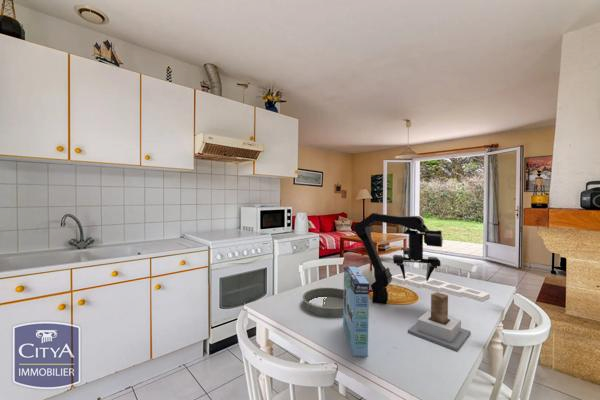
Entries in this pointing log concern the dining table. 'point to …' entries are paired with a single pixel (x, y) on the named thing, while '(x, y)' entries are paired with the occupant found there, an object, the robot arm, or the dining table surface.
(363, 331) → the gum box
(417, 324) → the socket board
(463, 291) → the holder
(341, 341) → the dining table surface
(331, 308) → the cake pan
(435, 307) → the walnut peg
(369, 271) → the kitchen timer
